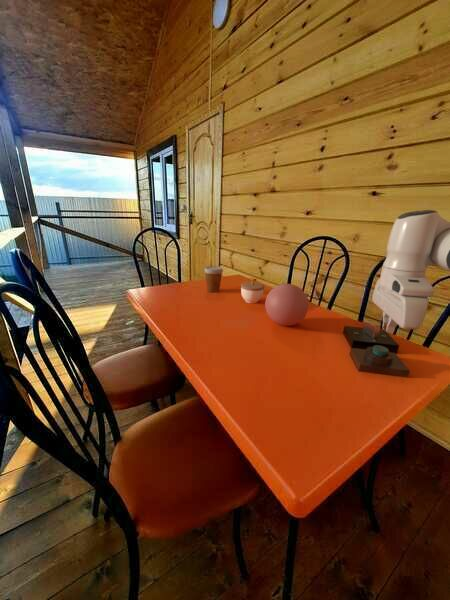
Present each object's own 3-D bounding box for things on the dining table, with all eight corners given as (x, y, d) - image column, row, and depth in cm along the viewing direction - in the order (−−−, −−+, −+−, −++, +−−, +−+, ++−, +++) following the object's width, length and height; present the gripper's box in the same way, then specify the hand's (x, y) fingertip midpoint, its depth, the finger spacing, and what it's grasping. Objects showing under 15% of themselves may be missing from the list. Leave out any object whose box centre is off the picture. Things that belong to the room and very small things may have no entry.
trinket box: (263, 298, 123) (264, 279, 120) (262, 305, 113) (264, 285, 110) (241, 296, 125) (242, 277, 121) (239, 303, 115) (240, 283, 111)
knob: (362, 330, 85) (365, 319, 83) (367, 330, 85) (369, 319, 83) (372, 338, 80) (375, 326, 78) (377, 338, 80) (380, 326, 78)
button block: (392, 359, 74) (396, 347, 73) (407, 377, 66) (411, 364, 65) (349, 354, 76) (351, 342, 75) (358, 371, 68) (361, 358, 67)
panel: (382, 337, 87) (384, 329, 86) (396, 354, 77) (399, 345, 76) (342, 333, 89) (344, 325, 88) (351, 348, 79) (353, 339, 78)
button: (383, 351, 71) (385, 345, 71) (389, 358, 68) (390, 352, 67) (370, 349, 72) (371, 344, 71) (374, 356, 68) (376, 350, 68)
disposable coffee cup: (223, 288, 136) (224, 266, 132) (220, 293, 128) (221, 270, 124) (206, 287, 138) (206, 265, 134) (202, 292, 129) (202, 269, 125)
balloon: (322, 324, 96) (329, 285, 91) (284, 336, 85) (289, 293, 80) (291, 311, 108) (296, 276, 103) (255, 320, 98) (258, 281, 92)
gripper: (371, 270, 73) (362, 314, 78) (406, 290, 54) (390, 347, 59) (395, 271, 72) (384, 316, 76) (439, 292, 53) (421, 350, 57)
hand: (387, 330), depth 67 cm, fingers closed
